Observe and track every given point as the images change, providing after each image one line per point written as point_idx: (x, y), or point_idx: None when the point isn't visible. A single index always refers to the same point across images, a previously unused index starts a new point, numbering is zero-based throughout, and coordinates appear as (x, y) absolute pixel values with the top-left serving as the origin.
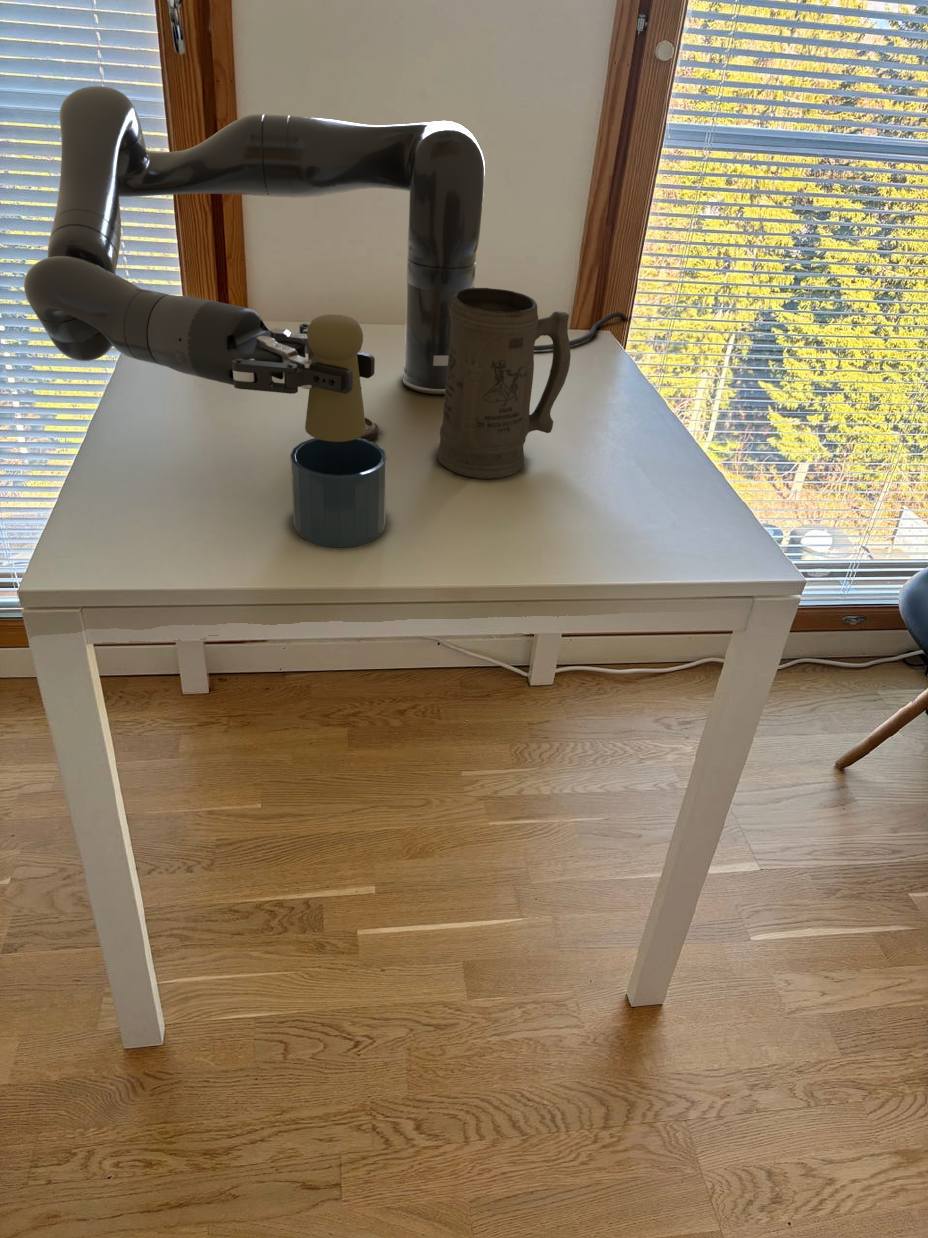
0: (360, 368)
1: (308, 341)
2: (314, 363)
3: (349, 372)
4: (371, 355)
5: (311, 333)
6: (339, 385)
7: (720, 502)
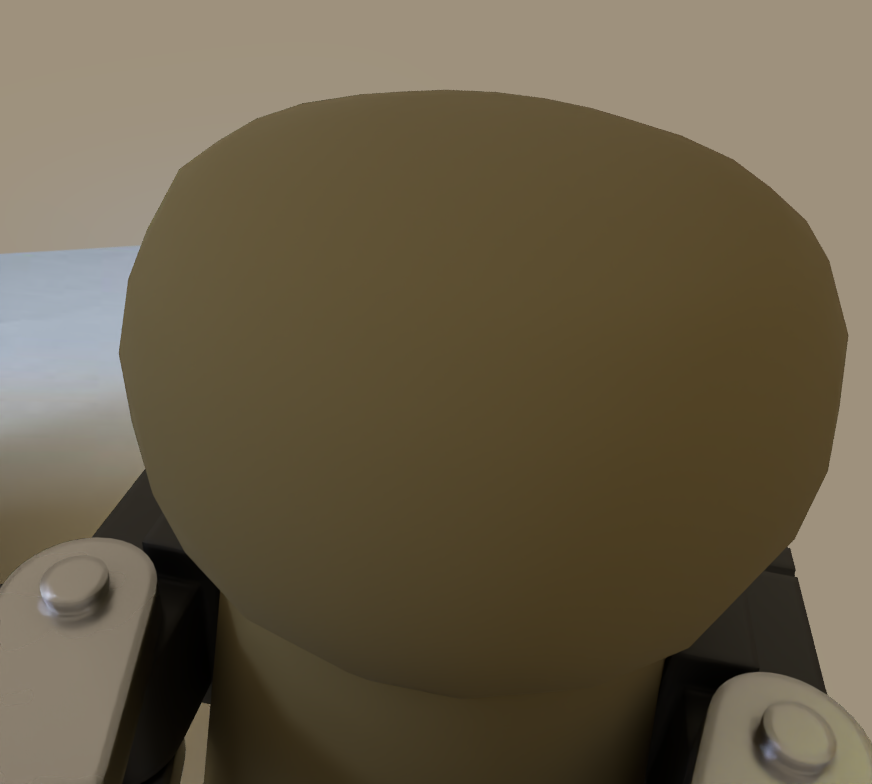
0: None
1: (736, 593)
2: (748, 662)
3: None
4: None
5: (809, 436)
6: None
7: (129, 257)
